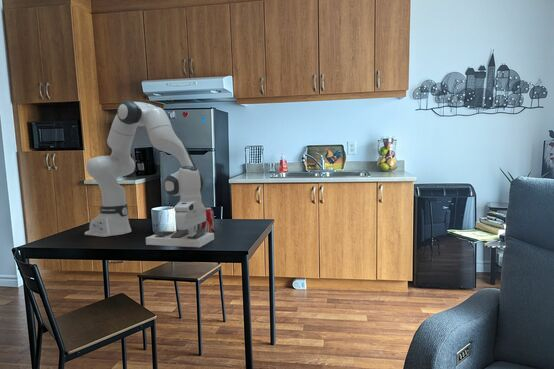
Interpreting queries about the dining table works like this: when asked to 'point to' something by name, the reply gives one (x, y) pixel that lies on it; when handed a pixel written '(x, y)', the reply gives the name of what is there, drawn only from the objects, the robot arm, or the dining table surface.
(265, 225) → the dining table surface
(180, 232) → the middle rocker
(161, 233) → the rocker
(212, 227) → the soda can
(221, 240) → the dining table surface
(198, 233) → the rocker
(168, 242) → the rocker switch panel
